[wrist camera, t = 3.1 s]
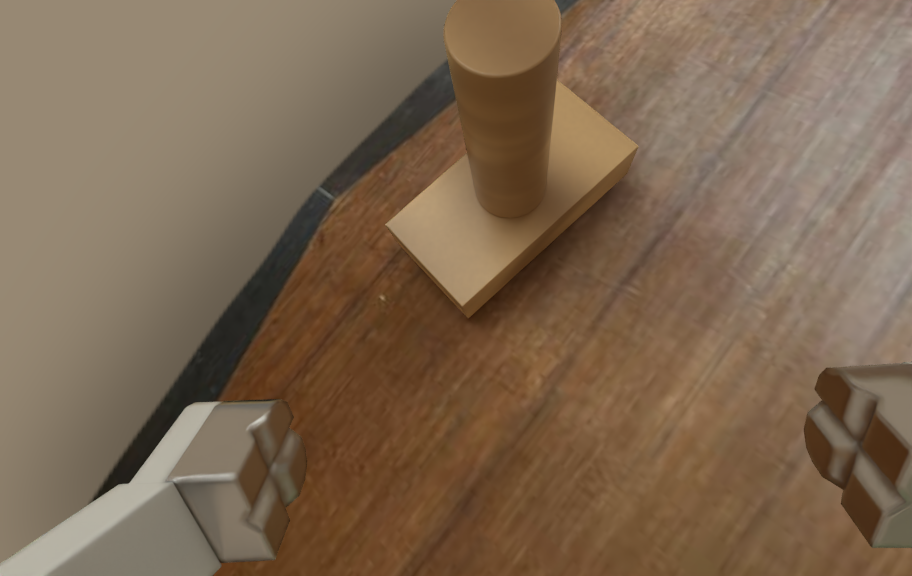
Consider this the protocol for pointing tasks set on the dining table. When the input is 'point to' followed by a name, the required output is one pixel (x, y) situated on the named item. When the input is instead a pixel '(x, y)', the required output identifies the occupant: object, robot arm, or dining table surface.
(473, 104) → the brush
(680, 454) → the dining table surface
